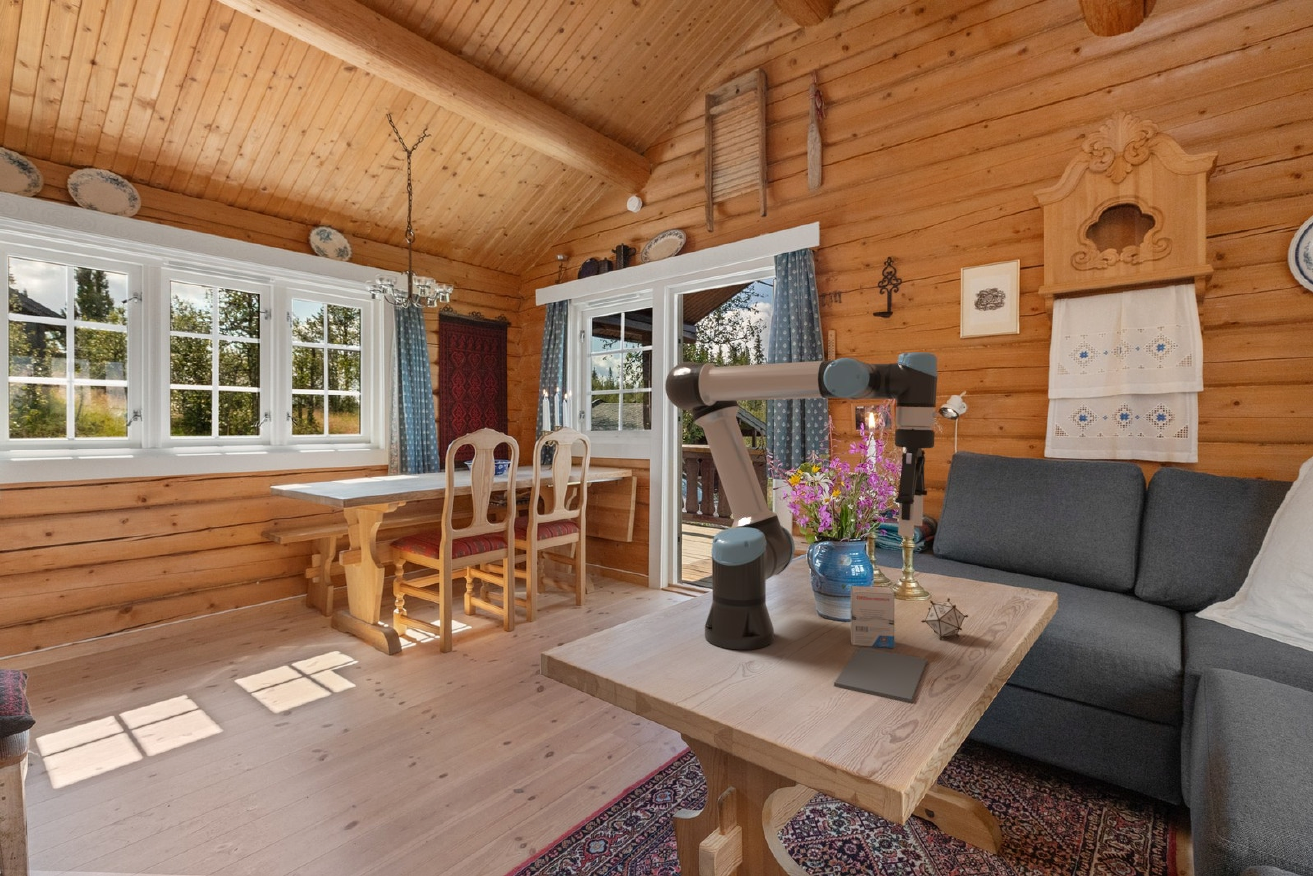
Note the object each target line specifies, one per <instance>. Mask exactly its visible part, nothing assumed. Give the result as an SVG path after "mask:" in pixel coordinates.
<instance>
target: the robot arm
mask: <svg viewBox="0 0 1313 876" xmlns="http://www.w3.org/2000/svg"><path fill="white" fill-rule="evenodd" d="M938 377H939V375H938V358H937V356H936V355H935V354H934V353H931V352H921V351H920V352H917V351H915V352H904V353H900V354H899V355H898V357H897V361H896V362H893V363H891V362H890V363H868V362H865V361H861V360H858V359H857V358H856V359H855V358H853V357H840V358H838V359H834V360H818V361H817V360H816V361H815V360H813V361H801V362H797V361H796V362H783V363H782V362H781V363H764V364H749V365H748V364H746V365H730V366H729V365H728V366H720V365H718V364H714V363H711V362H702V363H701V362H695V361H685V362H681V363H678V364H677V365H675V366H674V367H673V368H672V369H671V370H670V371H669V372H668V374H667V376H666V380H665V384H664V385H665V387H664V389H665V394H666V395H667V397H668V400H669V401H670V403H672V404H673V405H674V406H675V407H677V408H678V409H681V410H684V411H689V412H690V413H691V415H692V416H691V417H692V419H693V422H694V424H695V425H697V426H698V427H701V429H703V434H704V435H705V436H704V437H705V438H706V441H707V444H708V447H709V451H710V452H711V455H712V459H713V461H714V465H715V468H716V470H717V473H718V476H719V479H720V481H721V485H722V488H723V490H724V494H725V496H726V500H727V502H728V506H729V509H730V511H731V514H732V518H733V523H732V525H731V527H730V528H727V529H726V528H725V529H723V530H721V531H719V532H717V533H716V534H715V535H714V536H713V539H712V547H711V565H712V567H711V571H712V574H711V577H712V579H711V581H712V585H711V586H712V590H711V591H712V600H711V601H712V602H711V606H710V608H709V612H708V615H707V618H706V620H705V621H706V622H705V625H704V638H705V640H706V641H707V642H708V643H710V644H712V645H714V646H716V647H720V648H724V649H729V650H730V649H731V650H741V651H742V650H743V651H744V650H755V649H757V650H758V649H761V648H765V647H767V646H769V645H771V644H772V643H773V642H774V639H775V637H774V636H775V634H774V633H775V628H774V625H773V623H772V619H771V615H770V613H769V609H768V607H767V601H766V599H767V598H766V596H767V595H766V590H767V589H766V588H767V587H766V581H767V580H768V579H770V578H772V577H774V576H776V575H780V574H781V573H782V572H784V571H785V570H786V569H787V568H788V567H789V565H790V564H791V563H792V561H793V559H794V556H795V554H796V553H795V551H796V544H795V540H794V538H793V535H792V534H791V533H790V531H789V530H788V529H787V528H785V527H783V525H781V521H780V520H779V517H778V514H777V513H775V512H774V511H771V510H770V508H769V507H768V505H767V502H766V499H765V496H764V493H763V491H762V488H761V485H760V482H759V480H758V476H757V474H756V471H755V467H754V465H753V462H752V459H751V456H750V454H749V451H748V447H747V445H746V442H745V440H744V436H743V434H742V432H741V427H740V426H739V423H738V419H737V415H738V413H739V411H740V406H739V404H738V401H759V400H761V401H762V400H763V401H765V400H798V399H802V400H803V399H850V400H856V401H857V400H896V401H895V402H896V407H895V421H894V424H895V426H896V427H897V428H896V430H894V445H895V446H896V447H898V448H906V449H905V452H902V455H901V470H900V477H899V478H900V479H899V486H898V496H897V497H895V500H894V501H895V503H896V504H898V529H897V531H898V532H897V536H900V537H910V538H914V528H915V527H914V526H919V527H923V513H924V510H923V509H924V496H928V490H926V485H925V464H926V463H925V462H926V456H925V454H926V452H925V450H924V449H932V448H934V447H935V436H936V434H935V433H936V431H934V429H932V428H934V427H935V425H936V419H935V418H938V417H939V416H940V415H939V414H940V413H938V412H936V408H937V407H936V406H937V389H938Z"/></svg>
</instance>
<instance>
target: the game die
mask: <svg viewBox="0 0 1313 876" xmlns="http://www.w3.org/2000/svg"><path fill="white" fill-rule="evenodd" d="M950 600H951V599H950V597H948V598H947V600H946V601H941V602H934V601H933V600H929V601H930V602H929V603H930V604H931V606H930V607H928V608H927V609H928V612H927V615H926V617H925V620H924V619H923V620H921V621H920V622H921V623H926V624H927V625H928V626H929V628H931V629H932V630H933V631H934V633H936V634H937V635H938V636H939V640H940V641H942V640H943V637H950V636H956V637H957V638H960V634H959V632H960V631H963V629H962V625H963V622H964V620H965V618H969V615H968V614H965V615H964V613H962V612H961V611H960V610H959V609H958V608H956V607H957V605H956V604H952V603H951V602H950Z"/></svg>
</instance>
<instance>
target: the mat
mask: <svg viewBox="0 0 1313 876" xmlns="http://www.w3.org/2000/svg"><path fill="white" fill-rule="evenodd" d="M927 663H928V659H927V658H925V657H918V656H913V655H908V654H902V653H897V652H891V651H886V650H885V651H884V650H881V649H874V648H871V647H869V648H868V647H865V646H858V648H857V649H856V651H855V652H854V654H853V655H852V656H851V658H850V659H849V661H848V662H847V664H846V665H845V667H844V668H843V669H842V670H841V672H840V673H839V675H838V676H837V678H836V679H835V680H834V682H833V687H838V688H842V689H845V690H846V689H847V690H851V691H856V692H860V693H866V694H869V695H875V696H877V697H878V696H879V697H882V698H888V699H890V700H891V699H892V700H897V701H901V702H906V703H911V704H912V702H913V700H914V697H915V694H916V691H917V689H918V686H919V684H920V681H921V678H922V675H923V673H924V671H925V668H926V665H927Z"/></svg>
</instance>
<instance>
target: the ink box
mask: <svg viewBox="0 0 1313 876" xmlns="http://www.w3.org/2000/svg"><path fill="white" fill-rule="evenodd" d="M850 643H851V645H852V646H857V647H870V648H871V647H874V648H886V649H895V592H894V591H893V589H892V588H891V587H884V586H883V587H880V586H861V585H860V586H858V585H856V586H855V585H851V586H850Z"/></svg>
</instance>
